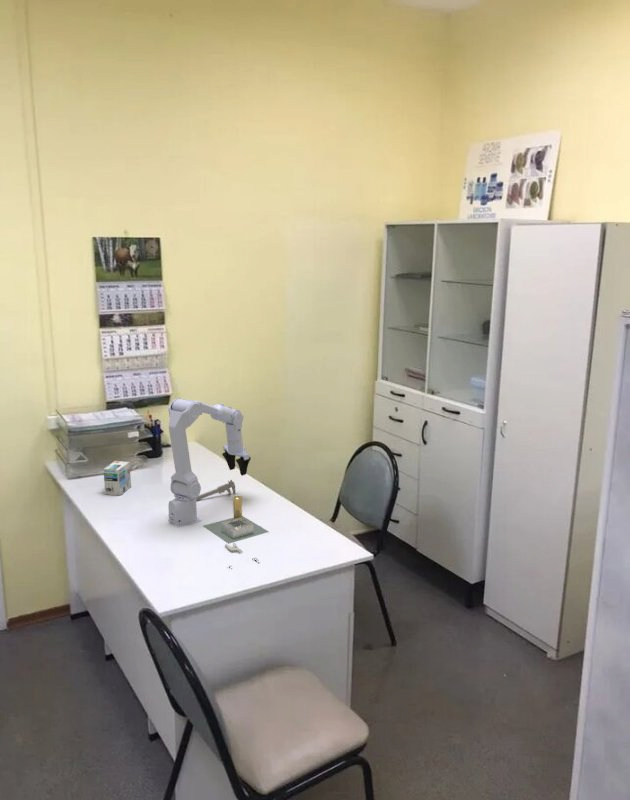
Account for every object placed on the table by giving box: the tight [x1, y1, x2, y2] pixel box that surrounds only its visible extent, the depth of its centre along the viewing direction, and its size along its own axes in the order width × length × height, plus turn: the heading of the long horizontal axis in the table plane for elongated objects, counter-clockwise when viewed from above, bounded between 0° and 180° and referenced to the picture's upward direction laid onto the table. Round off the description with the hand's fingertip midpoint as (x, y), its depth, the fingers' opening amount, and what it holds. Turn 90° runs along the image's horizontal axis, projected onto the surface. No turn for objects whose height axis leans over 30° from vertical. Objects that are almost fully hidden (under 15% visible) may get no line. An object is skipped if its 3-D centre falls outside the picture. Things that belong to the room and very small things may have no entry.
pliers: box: [224, 542, 260, 568], centre depth 217 cm, size 10×2×15 cm
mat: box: [202, 515, 269, 545], centre depth 236 cm, size 16×18×1 cm
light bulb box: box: [103, 460, 132, 496], centre depth 272 cm, size 11×7×11 cm, turn 171°
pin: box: [232, 495, 243, 519], centre depth 242 cm, size 3×3×9 cm
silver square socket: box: [221, 517, 254, 539], centre depth 233 cm, size 8×8×3 cm
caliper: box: [196, 479, 236, 502], centre depth 265 cm, size 20×1×6 cm, turn 121°
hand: (237, 471), depth 264 cm, fingers open, 7 cm apart
